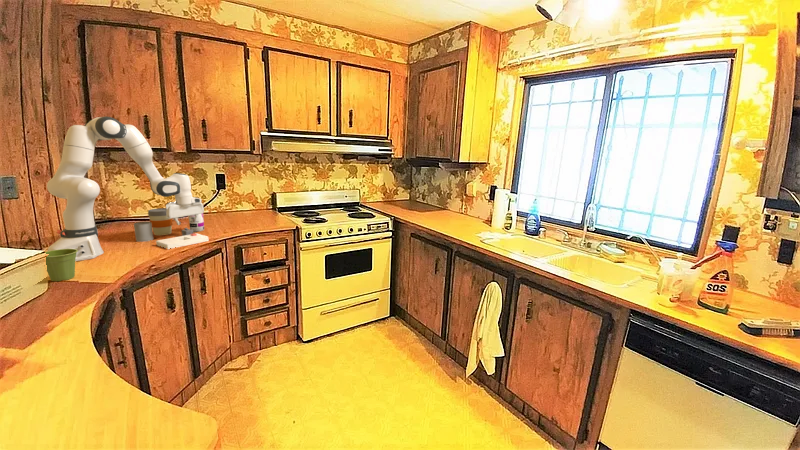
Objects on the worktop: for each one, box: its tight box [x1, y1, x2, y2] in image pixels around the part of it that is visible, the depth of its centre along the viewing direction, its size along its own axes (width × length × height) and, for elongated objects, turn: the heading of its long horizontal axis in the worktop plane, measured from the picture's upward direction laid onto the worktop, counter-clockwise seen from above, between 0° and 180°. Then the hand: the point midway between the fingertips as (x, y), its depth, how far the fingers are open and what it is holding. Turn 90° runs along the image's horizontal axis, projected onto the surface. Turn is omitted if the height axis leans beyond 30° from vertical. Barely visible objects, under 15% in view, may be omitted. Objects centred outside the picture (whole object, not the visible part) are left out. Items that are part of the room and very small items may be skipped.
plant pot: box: [44, 249, 78, 282], centre depth 146 cm, size 12×12×11 cm
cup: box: [133, 221, 155, 243], centre depth 206 cm, size 8×8×10 cm
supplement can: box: [188, 213, 205, 233], centre depth 230 cm, size 8×8×15 cm
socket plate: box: [155, 232, 210, 250], centre depth 202 cm, size 22×13×3 cm, turn 146°
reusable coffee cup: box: [147, 207, 174, 236], centre depth 220 cm, size 12×12×15 cm
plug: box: [181, 227, 194, 236], centre depth 214 cm, size 4×6×6 cm
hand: (187, 223), depth 214 cm, fingers open, 8 cm apart
